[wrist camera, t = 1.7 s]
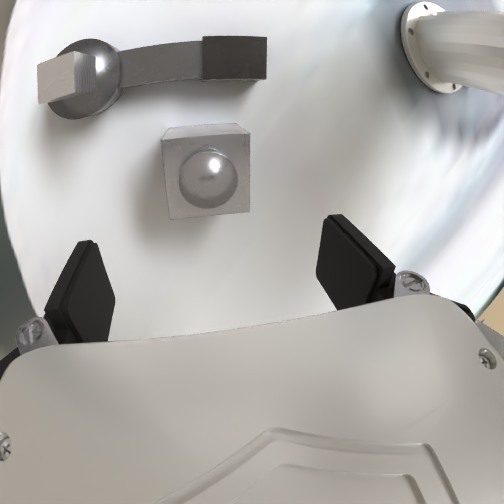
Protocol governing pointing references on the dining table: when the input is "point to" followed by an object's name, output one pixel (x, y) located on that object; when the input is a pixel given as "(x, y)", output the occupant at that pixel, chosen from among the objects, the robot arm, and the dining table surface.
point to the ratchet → (141, 69)
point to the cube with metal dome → (207, 170)
